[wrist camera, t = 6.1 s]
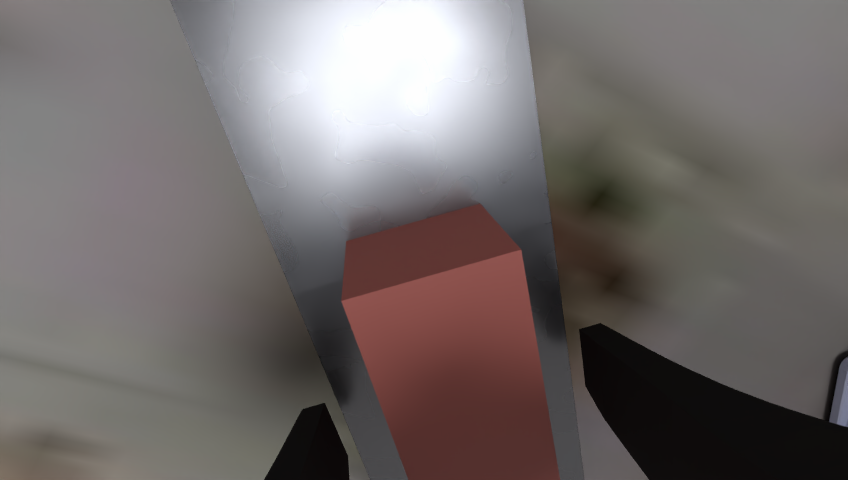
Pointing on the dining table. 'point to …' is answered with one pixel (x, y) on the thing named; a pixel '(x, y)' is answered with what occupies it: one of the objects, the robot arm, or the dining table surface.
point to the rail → (384, 158)
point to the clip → (452, 347)
